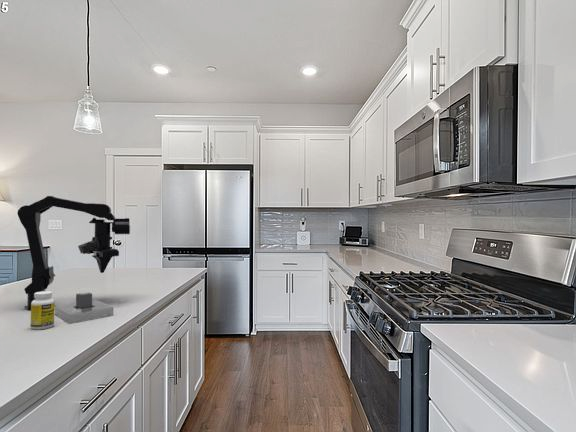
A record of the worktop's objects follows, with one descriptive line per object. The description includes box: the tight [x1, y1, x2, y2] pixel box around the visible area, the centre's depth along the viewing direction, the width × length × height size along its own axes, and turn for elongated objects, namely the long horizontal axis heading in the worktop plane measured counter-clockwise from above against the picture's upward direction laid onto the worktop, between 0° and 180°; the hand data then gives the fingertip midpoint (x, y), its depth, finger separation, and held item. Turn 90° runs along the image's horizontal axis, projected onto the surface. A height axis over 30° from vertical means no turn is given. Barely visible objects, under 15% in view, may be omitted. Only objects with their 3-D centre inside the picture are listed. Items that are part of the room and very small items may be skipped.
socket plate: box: [54, 299, 114, 325], centre depth 127 cm, size 16×14×4 cm
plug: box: [75, 291, 93, 309], centre depth 127 cm, size 4×4×7 cm
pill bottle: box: [30, 290, 56, 331], centre depth 113 cm, size 6×6×11 cm
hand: (102, 272), depth 145 cm, fingers closed
